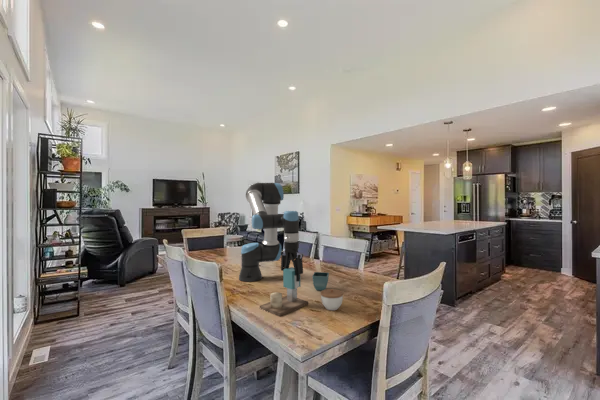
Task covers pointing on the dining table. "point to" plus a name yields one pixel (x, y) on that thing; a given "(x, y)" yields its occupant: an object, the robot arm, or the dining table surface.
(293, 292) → the square post
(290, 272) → the teal rectangular block
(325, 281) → the flower pot
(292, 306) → the base board
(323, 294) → the lidded jar
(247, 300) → the dining table surface
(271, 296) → the cream smooth rounded part
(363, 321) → the dining table surface
